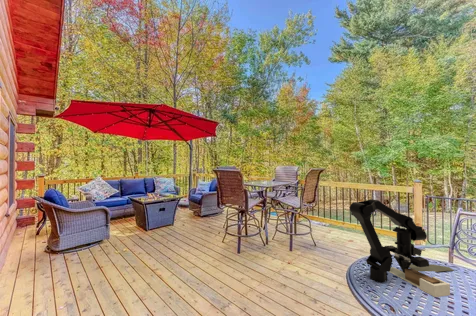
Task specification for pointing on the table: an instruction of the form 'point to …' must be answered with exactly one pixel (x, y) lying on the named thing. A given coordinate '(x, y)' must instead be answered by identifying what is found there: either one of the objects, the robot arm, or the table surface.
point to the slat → (418, 277)
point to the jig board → (401, 275)
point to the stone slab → (431, 268)
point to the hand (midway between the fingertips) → (404, 273)
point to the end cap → (435, 287)
